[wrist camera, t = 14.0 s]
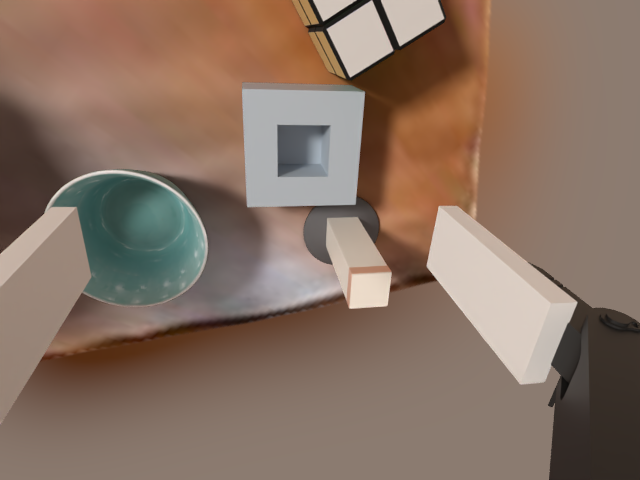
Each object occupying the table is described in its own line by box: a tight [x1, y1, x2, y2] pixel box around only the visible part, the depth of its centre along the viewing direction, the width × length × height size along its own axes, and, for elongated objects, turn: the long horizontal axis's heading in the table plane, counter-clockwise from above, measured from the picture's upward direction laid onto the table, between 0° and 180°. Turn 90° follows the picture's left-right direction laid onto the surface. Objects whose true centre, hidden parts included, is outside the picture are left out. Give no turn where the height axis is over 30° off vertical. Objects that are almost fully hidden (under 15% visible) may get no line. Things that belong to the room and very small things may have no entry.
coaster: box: [304, 197, 379, 265], centre depth 54 cm, size 10×10×1 cm
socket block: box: [242, 82, 365, 207], centre depth 45 cm, size 12×12×6 cm
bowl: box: [44, 169, 208, 307], centre depth 45 cm, size 16×16×8 cm
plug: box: [326, 217, 392, 309], centre depth 47 cm, size 4×4×14 cm
